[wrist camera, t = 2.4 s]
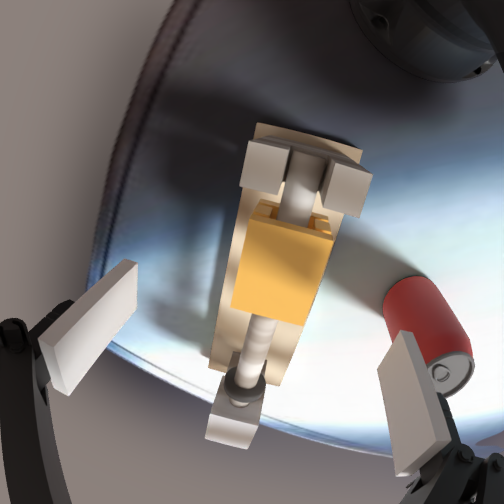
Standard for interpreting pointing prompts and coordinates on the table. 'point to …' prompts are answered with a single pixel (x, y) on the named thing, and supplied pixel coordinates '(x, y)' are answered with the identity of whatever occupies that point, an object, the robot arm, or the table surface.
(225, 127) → the table surface
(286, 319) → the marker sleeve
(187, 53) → the table surface
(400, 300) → the beer can
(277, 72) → the table surface
